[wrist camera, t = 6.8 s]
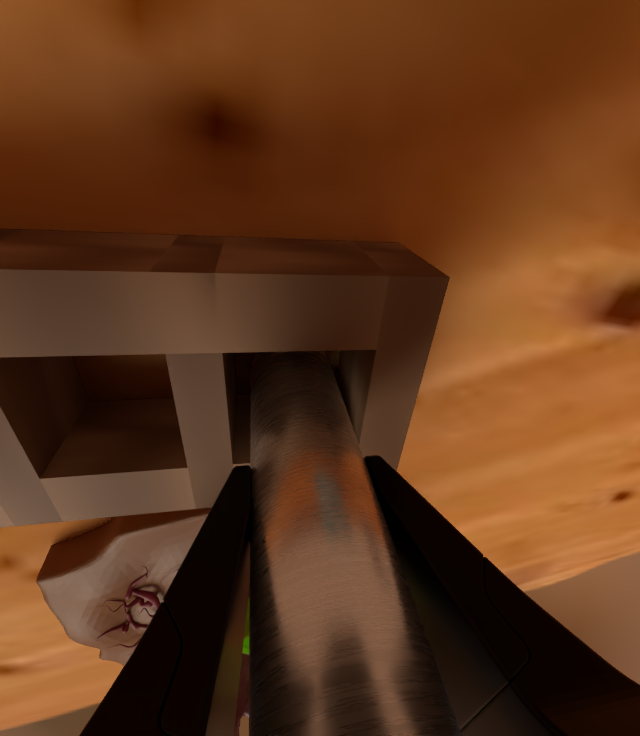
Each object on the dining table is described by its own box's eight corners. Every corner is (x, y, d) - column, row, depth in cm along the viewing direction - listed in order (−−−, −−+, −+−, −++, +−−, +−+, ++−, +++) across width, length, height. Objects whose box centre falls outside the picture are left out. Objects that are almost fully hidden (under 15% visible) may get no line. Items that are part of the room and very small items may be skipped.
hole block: (-103, 453, 14) (-212, 547, 11) (-298, 218, 9) (-599, 258, 6) (365, 425, 18) (391, 490, 14) (398, 242, 13) (449, 277, 10)
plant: (345, 430, 18) (443, 725, 9) (391, 589, 29) (456, 797, 20) (-16, 540, 18) (-294, 950, 9) (165, 658, 29) (125, 898, 20)
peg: (252, 400, 14) (253, 1053, 4) (249, 333, 12) (237, 1151, 2) (325, 397, 14) (490, 966, 4) (331, 333, 13) (612, 997, 3)
